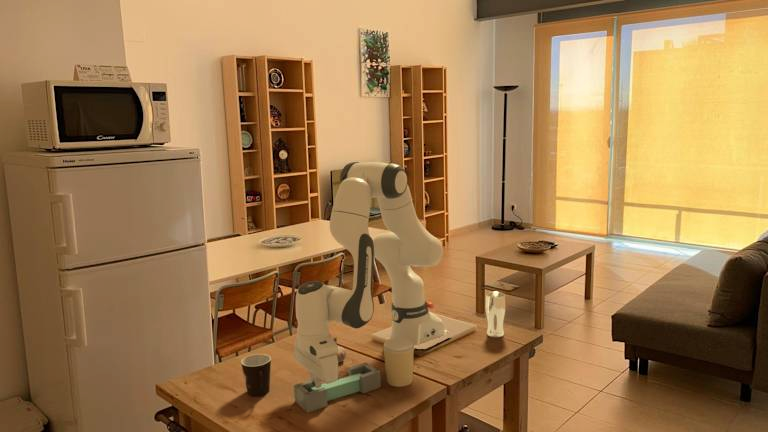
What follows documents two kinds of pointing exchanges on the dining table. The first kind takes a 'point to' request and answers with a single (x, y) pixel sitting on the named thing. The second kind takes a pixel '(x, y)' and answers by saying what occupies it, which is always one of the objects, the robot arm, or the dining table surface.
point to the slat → (341, 387)
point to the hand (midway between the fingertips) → (316, 385)
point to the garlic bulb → (340, 352)
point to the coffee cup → (399, 361)
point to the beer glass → (495, 313)
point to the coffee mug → (257, 374)
